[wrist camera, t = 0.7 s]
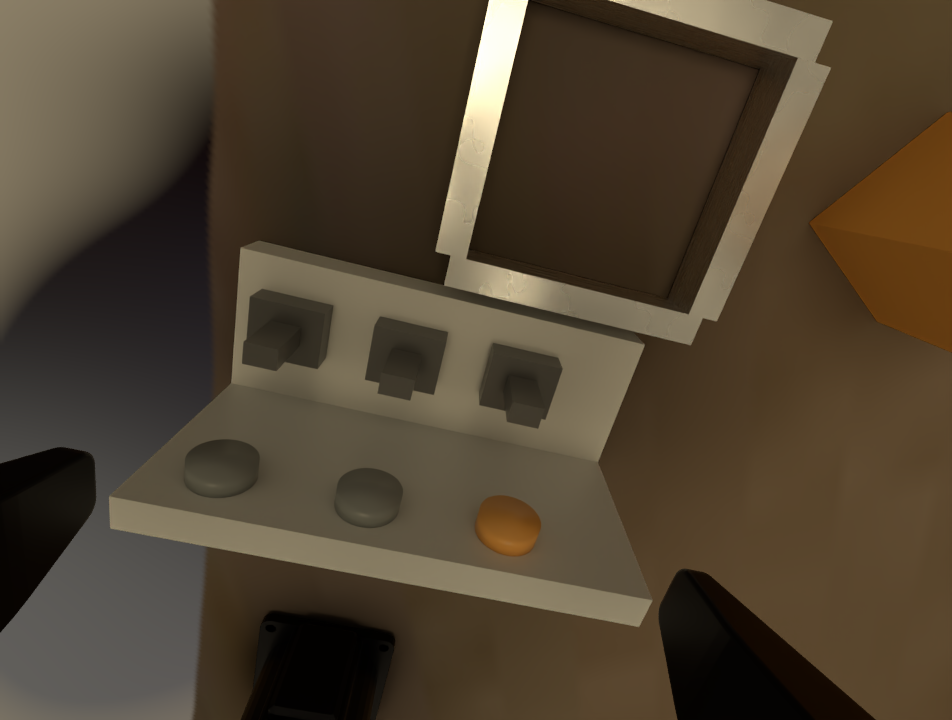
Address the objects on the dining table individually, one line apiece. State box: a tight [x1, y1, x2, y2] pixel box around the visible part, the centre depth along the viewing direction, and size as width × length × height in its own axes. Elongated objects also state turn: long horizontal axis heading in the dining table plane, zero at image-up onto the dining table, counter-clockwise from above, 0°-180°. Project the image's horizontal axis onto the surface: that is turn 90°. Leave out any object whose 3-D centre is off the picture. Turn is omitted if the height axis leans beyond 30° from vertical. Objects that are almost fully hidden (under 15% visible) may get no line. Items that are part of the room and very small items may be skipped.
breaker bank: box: [109, 241, 653, 627], centre depth 16 cm, size 6×14×8 cm, turn 76°
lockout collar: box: [435, 0, 833, 345], centre depth 16 cm, size 10×10×2 cm
